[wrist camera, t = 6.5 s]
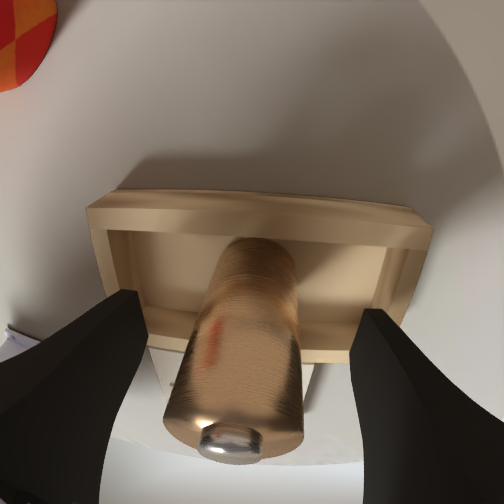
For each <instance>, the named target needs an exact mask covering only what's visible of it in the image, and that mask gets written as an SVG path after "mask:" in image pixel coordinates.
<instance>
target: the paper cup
mask: <svg viewBox="0 0 504 504" xmlns="http://www.w3.org/2000/svg"><path fill="white" fill-rule="evenodd" d="M56 23H57V4H56V1H55V0H0V92H4V91H7V90H11V89H14V88H17V87H19V86H20V85H22V84H23V83H24V82H26V81H27V80H28V79H29V78H30V77H31V76H32V74H33V73H34V72H35V71H36V69H37V68H38V66H39V65H40V63H41V62H42V60H43V58H44V56H45V55H46V53H47V50H48V48H49V46H50V44H51V41H52V38H53V35H54V32H55V28H56Z"/></svg>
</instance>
